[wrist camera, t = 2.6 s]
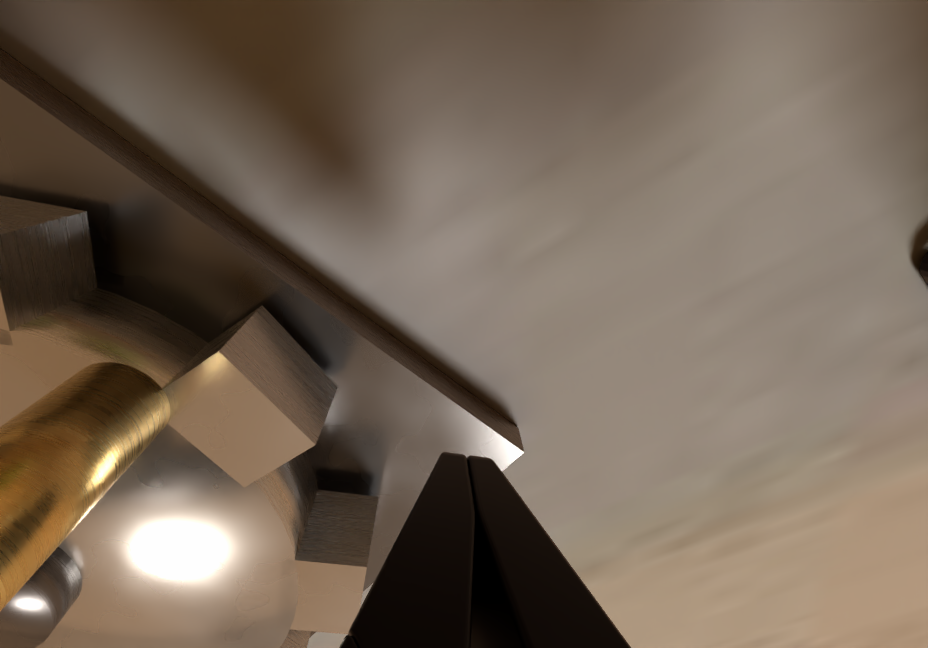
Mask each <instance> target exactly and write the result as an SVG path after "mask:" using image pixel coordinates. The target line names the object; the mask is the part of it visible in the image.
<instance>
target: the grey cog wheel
mask: <svg viewBox="0 0 928 648" xmlns="http://www.w3.org/2000/svg"><path fill="white" fill-rule="evenodd" d="M337 388H338V386H337V385H336V383H335V382H334V381H333V380H332V379H331V378H330V377H329V376H328V375H327V374H326V373H325V372H324V371H323V370H322V369H321V367H320V366H319V365H318V364H317V363H316V362H315V361H314V360H313V359H312V358H311V357H310V356H309V355H308V354H307V352H306V351H305V350H304V349H303V348H302V347H301V346H300V345H299V344H298V343H297V342H296V341H295V340H294V339H293V338H292V336H291V335H290V334H289V333H288V332H287V331H286V330H285V329H284V328H283V327H282V326H281V325H280V324H279V323H278V321H277V320H276V319H275V318H274V317H273V316H272V315H271V314H270V313H269V312H268V311H267V310H266V309H265V308H264V307H263V305H262V306H261V307H259V308H258V309H256V310H255V311H253V312H252V313H251V314H249V315H248V316H246V317H245V318H243V319H242V320H241V321H239V322H238V323H236V324H235V325H233V326H232V327H231V328H229V329H228V330H226V331H225V332H223V333H222V334H220V335H219V336H218V337H216V338H215V339H213V340H212V341H210V342H209V343H208V342H207V341H205V340H204V339H202V338H201V337H199V336H198V335H197V334H195V333H194V332H192V331H190V330H188V329H187V328H185V327H183V326H181V325H180V324H178V323H176V322H174V321H172V320H171V319H169V318H167V317H165V316H163V315H162V314H160V313H158V312H156V311H154V310H152V309H149V308H147V307H145V306H143V305H140V304H138V303H136V302H133V301H131V300H129V299H127V298H124V297H122V296H120V295H117V294H115V293H112V292H109V291H106V290H102V289H99V288H97V283H96V275H95V268H94V261H93V253H92V246H91V239H90V231H89V224H88V217H87V211H82V210H77V209H71V208H66V207H60V206H55V205H49V204H44V203H38V202H33V201H27V200H22V199H16V198H11V197H6V196H0V648H307V645H308V641H309V637H310V633H311V631H316V632H328V633H341V634H348V632H349V629H350V627H351V625H352V623H353V621H354V620H355V618H356V616H357V614H358V612H359V610H360V604H361V599H362V593H363V587H364V581H365V576H366V570H367V564H368V558H369V552H370V546H371V540H372V534H373V528H374V522H375V516H376V510H377V504H378V498H379V497H376V496H367V495H359V494H350V493H342V492H333V491H325V490H318V485H317V479H316V476H315V473H314V471H313V468H312V465H311V462H310V459H309V456H308V454H307V452H306V450H308V449H310V448H311V447H313V446H315V445H316V443H317V440H318V437H319V435H320V432H321V430H322V427H323V424H324V422H325V419H326V417H327V414H328V411H329V409H330V406H331V404H332V401H333V398H334V396H335V393H336V391H337Z"/></svg>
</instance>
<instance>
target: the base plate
mask: <svg viewBox="0 0 928 648" xmlns="http://www.w3.org/2000/svg"><path fill="white" fill-rule="evenodd" d="M0 196H6V197H11V198H16V199H22V200H27V201H33V202H38V203H44V204H49V205H55V206H60V207H66V208H71V209H77V210H82V211H87V217H88V224H89V231H90V239H91V246H92V253H93V261H94V268H95V275H96V283H97V288H99V289H102V290H106V291H109V292H112V293H115V294H117V295H120V296H122V297H124V298H127V299H129V300H131V301H133V302H136V303H138V304H140V305H143V306H145V307H147V308H149V309H152V310H154V311H156V312H158V313H160V314H162V315H163V316H165V317H167V318H169V319H171V320H172V321H174V322H176V323H178V324H180V325H181V326H183V327H185V328H187V329H188V330H190V331H192V332H194V333H195V334H197V335H198V336H199V337H201V338H202V339H204V340H205V341H207V342H208V343H209V342H210V341H212V340H213V339H215V338H216V337H218V336H219V335H220V334H222V333H223V332H225V331H226V330H228V329H229V328H231V327H232V326H233V325H235V324H236V323H238V322H239V321H241V320H242V319H243V318H245V317H246V316H248V315H249V314H251V313H252V312H253V311H255V310H256V309H258V308H259V307H261V306H262V305H263V307H264V308H265V309H266V310H267V311H268V312H269V313H270V314H271V315H272V316H273V317H274V318H275V319H276V320H277V321H278V323H279V324H280V325H281V326H282V327H283V328H284V329H285V330H286V331H287V332H288V333H289V334H290V335H291V336H292V338H293V339H294V340H295V341H296V342H297V343H298V344H299V345H300V346H301V347H302V348H303V349H304V350H305V351H306V352H307V354H308V355H309V356H310V357H311V358H312V359H313V360H314V361H315V362H316V363H317V364H318V365H319V366H320V367H321V369H322V370H323V371H324V372H325V373H326V374H327V375H328V376H329V377H330V378H331V379H332V380H333V381H334V382H335V383H336V385H337V386H338V388H337V391H336V393H335V396H334V398H333V401H332V404H331V406H330V409H329V411H328V414H327V417H326V419H325V422H324V424H323V427H322V430H321V432H320V435H319V437H318V440H317V443H316V445H315V446H313V447H311V448H310V449H308V450H306V452H307V454H308V456H309V459H310V462H311V465H312V468H313V471H314V473H315V476H316V479H317V485H318V490H325V491H333V492H342V493H350V494H359V495H367V496H376V497H379V498H378V504H377V510H376V516H375V522H374V528H373V534H372V540H371V546H370V552H369V558H368V564H367V570H366V576H365V581H364V587H363V591H364V590H365V589H366V588H368V587H369V586H370V585H371V584H372V583H373V582H374V581H375V579H376V577H377V575H378V573H379V572H380V570H381V568H382V566H383V564H384V562H385V560H386V558H387V556H388V554H389V552H390V550H391V549H392V547H393V545H394V543H395V541H396V539H397V537H398V535H399V533H400V531H401V529H402V527H403V526H404V524H405V522H406V520H407V518H408V516H409V514H410V512H411V510H412V508H413V506H414V504H415V502H416V501H417V499H418V497H419V495H420V493H421V491H422V489H423V487H424V485H425V483H426V481H427V479H428V478H429V476H430V474H431V472H432V470H433V468H434V466H435V464H436V462H437V460H438V458H439V456H440V455H441V454H442V453H443V452H450V453H458V454H463V455H465V456H466V458H467V457H468V456H470V455H473V456H480V457H488V458H491V459H492V460H494V462H495V463H496V464H497V466H498V467H499V468H500V470H501V471H503V470H504V469H506V468H507V467H508V466H509V465H510V464H511V463H512V462H514V461H515V460H516V459H517V458H518V457H519V456H521V455H522V454H523V453H524V449H523V445H522V441H521V437H520V433H519V429H518V428H517V427H516V426H515V425H513V424H512V423H511V422H509V421H508V420H506V419H505V418H504V417H502V416H501V415H500V414H498V413H497V412H496V411H494V410H493V409H491V408H490V407H489V406H487V405H486V404H485V403H483V402H482V401H481V400H479V399H478V398H476V397H475V396H474V395H472V394H471V393H470V392H468V391H467V390H466V389H464V388H463V387H461V386H460V385H459V384H457V383H456V382H455V381H453V380H452V379H451V378H449V377H448V376H446V375H445V374H444V373H442V372H441V371H440V370H438V369H437V368H436V367H434V366H433V365H431V364H430V363H429V362H427V361H426V360H425V359H423V358H422V357H421V356H419V355H418V354H416V353H415V352H414V351H412V350H411V349H410V348H408V347H407V346H406V345H404V344H403V343H401V342H400V341H399V340H397V339H396V338H395V337H393V336H392V335H391V334H389V333H388V332H386V331H385V330H384V329H382V328H381V327H380V326H378V325H377V324H376V323H374V322H373V321H371V320H370V319H369V318H367V317H366V316H365V315H363V314H362V313H361V312H359V311H358V310H356V309H355V308H354V307H352V306H351V305H350V304H348V303H347V302H346V301H344V300H343V299H341V298H340V297H339V296H337V295H336V294H335V293H333V292H332V291H330V290H329V289H328V288H326V287H325V286H324V285H322V284H321V283H320V282H318V281H317V280H315V279H314V278H313V277H311V276H310V275H309V274H307V273H306V272H305V271H303V270H302V269H300V268H299V267H298V266H296V265H295V264H294V263H292V262H291V261H290V260H288V259H287V258H285V257H284V256H283V255H281V254H280V253H279V252H277V251H276V250H275V249H273V248H272V247H270V246H269V245H268V244H266V243H265V242H264V241H262V240H261V239H260V238H258V237H257V236H255V235H254V234H253V233H251V232H250V231H249V230H247V229H246V228H245V227H243V226H242V225H240V224H239V223H238V222H236V221H235V220H234V219H232V218H231V217H230V216H228V215H227V214H225V213H224V212H223V211H221V210H220V209H219V208H217V207H216V206H215V205H213V204H212V203H210V202H209V201H208V200H206V199H205V198H204V197H202V196H201V195H200V194H198V193H197V192H195V191H194V190H193V189H191V188H190V187H189V186H187V185H186V184H185V183H183V182H182V181H180V180H179V179H178V178H176V177H175V176H174V175H172V174H171V173H170V172H168V171H167V170H165V169H164V168H163V167H161V166H160V165H159V164H157V163H156V162H155V161H153V160H152V159H150V158H149V157H148V156H146V155H145V154H144V153H142V152H141V151H140V150H138V149H137V148H135V147H134V146H133V145H131V144H130V143H129V142H127V141H126V140H125V139H123V138H122V137H120V136H119V135H118V134H116V133H115V132H114V131H112V130H111V129H110V128H108V127H107V126H105V125H104V124H103V123H101V122H100V121H99V120H97V119H96V118H95V117H93V116H92V115H90V114H89V113H88V112H86V111H85V110H84V109H82V108H81V107H79V106H78V105H77V104H75V103H74V102H73V101H71V100H70V99H69V98H67V97H66V96H64V95H63V94H62V93H60V92H59V91H58V90H56V89H55V88H54V87H52V86H51V85H49V84H48V83H47V82H45V81H44V80H43V79H41V78H40V77H39V76H37V75H36V74H34V73H33V72H32V71H30V70H29V69H28V68H26V67H25V66H24V65H22V64H21V63H19V62H18V61H17V60H15V59H14V58H13V57H11V56H10V55H9V54H7V53H6V52H4V51H3V50H2V49H0ZM315 632H316V631H311V633H310V637H311V636H312V635H313V634H314V633H315ZM310 637H309V638H310Z"/></svg>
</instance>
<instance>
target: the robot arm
mask: <svg viewBox="0 0 928 648" xmlns="http://www.w3.org/2000/svg"><path fill="white" fill-rule="evenodd" d="M920 272H921V275H922V277H923V278H924V280H925V281H926V283H927V284H928V252H927V253H926V254H925V256H924V258H923V259H922V261H921V265H920ZM339 648H631V647H630V646H629V644H628V643H627V642H626V640H625V639H624V637H623V636H622V635H621V633H620V632H619V631H618V629H617V628H616V627H615V625H614V624H613V622H612V621H611V620H610V618H609V617H608V616H607V614H606V613H605V612H604V610H603V609H602V607H601V606H600V605H599V603H598V602H597V601H596V599H595V598H594V597H593V595H592V594H591V592H590V591H589V590H588V588H587V587H586V586H585V584H584V583H583V582H582V580H581V579H580V577H579V576H578V575H577V573H576V572H575V571H574V569H573V568H572V567H571V565H570V564H569V562H568V561H567V560H566V558H565V557H564V556H563V554H562V553H561V552H560V550H559V549H558V547H557V546H556V545H555V543H554V542H553V541H552V539H551V538H550V537H549V535H548V534H547V532H546V531H545V530H544V528H543V527H542V526H541V524H540V523H539V522H538V520H537V519H536V517H535V516H534V515H533V513H532V512H531V511H530V509H529V508H528V507H527V505H526V504H525V502H524V501H523V500H522V498H521V497H520V496H519V494H518V493H517V492H516V490H515V489H514V487H513V486H512V485H511V483H510V482H509V481H508V479H507V478H506V477H505V475H504V474H503V472H502V471H501V470H500V468H499V467H498V466H497V464H496V463H495V462H494V460H492V459H491V458H488V457H480V456H473V455H470V456H468V457H467V458H466V456H465V455H463V454H458V453H450V452H443V453H442V454H441V455H440V456H439V458H438V460H437V462H436V464H435V466H434V468H433V470H432V472H431V474H430V476H429V478H428V479H427V481H426V483H425V485H424V487H423V489H422V491H421V493H420V495H419V497H418V499H417V501H416V502H415V504H414V506H413V508H412V510H411V512H410V514H409V516H408V518H407V520H406V522H405V524H404V526H403V527H402V529H401V531H400V533H399V535H398V537H397V539H396V541H395V543H394V545H393V547H392V549H391V550H390V552H389V554H388V556H387V558H386V560H385V562H384V564H383V566H382V568H381V570H380V572H379V573H378V575H377V577H376V579H375V581H374V583H373V585H372V587H371V589H370V591H369V593H368V595H367V596H366V598H365V600H364V602H363V604H362V606H361V608H360V610H359V612H358V614H357V616H356V618H355V620H354V621H353V623H352V625H351V627H350V629H349V632H348V635H347V636H346V637H345V638H344V640H343V642H342V644H341V645H340V647H339Z"/></svg>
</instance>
